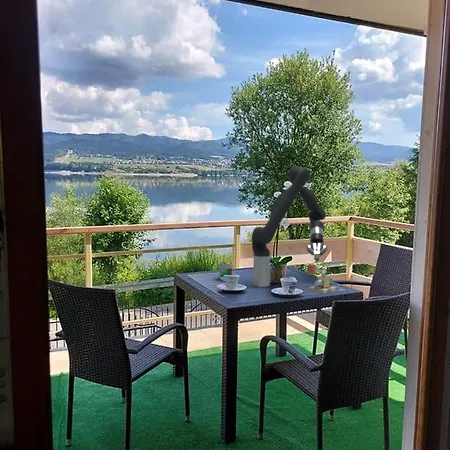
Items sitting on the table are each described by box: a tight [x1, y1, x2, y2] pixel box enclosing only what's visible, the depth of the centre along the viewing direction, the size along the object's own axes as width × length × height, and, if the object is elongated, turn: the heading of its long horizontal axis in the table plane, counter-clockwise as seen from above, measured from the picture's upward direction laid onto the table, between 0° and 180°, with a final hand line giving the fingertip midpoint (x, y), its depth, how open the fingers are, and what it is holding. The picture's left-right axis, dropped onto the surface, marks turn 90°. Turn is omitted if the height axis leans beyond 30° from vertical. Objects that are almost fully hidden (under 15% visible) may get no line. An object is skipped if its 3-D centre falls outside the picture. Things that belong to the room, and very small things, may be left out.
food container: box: [217, 261, 233, 278], centre depth 284 cm, size 12×6×10 cm, turn 21°
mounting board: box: [308, 285, 339, 294], centre depth 261 cm, size 13×10×2 cm
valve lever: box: [307, 264, 328, 276], centre depth 263 cm, size 12×3×5 cm, turn 40°
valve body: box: [313, 275, 334, 289], centre depth 260 cm, size 12×4×6 cm, turn 130°
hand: (316, 260), depth 272 cm, fingers closed
